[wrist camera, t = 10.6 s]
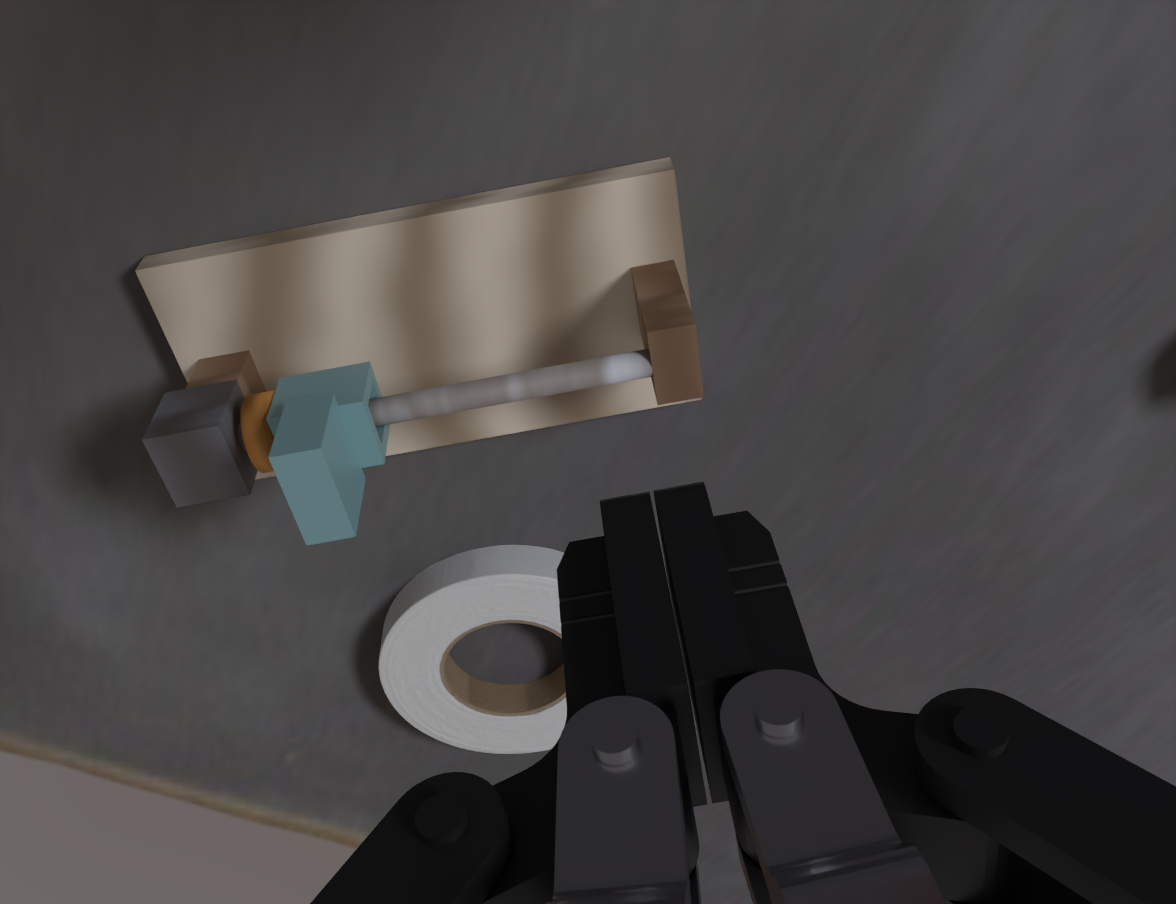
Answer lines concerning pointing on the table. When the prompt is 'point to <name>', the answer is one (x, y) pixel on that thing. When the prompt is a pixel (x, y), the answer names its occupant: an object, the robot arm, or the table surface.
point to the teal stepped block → (326, 447)
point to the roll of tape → (451, 611)
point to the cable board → (430, 320)
